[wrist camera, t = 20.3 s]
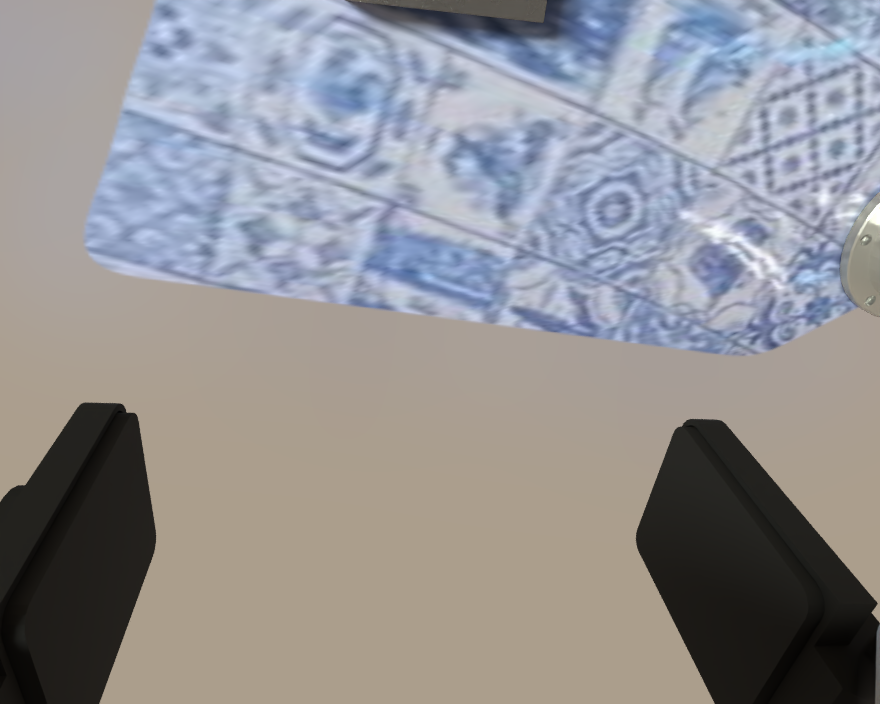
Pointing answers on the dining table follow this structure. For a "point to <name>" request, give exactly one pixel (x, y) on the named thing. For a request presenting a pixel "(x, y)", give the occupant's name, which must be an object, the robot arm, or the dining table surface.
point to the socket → (477, 7)
